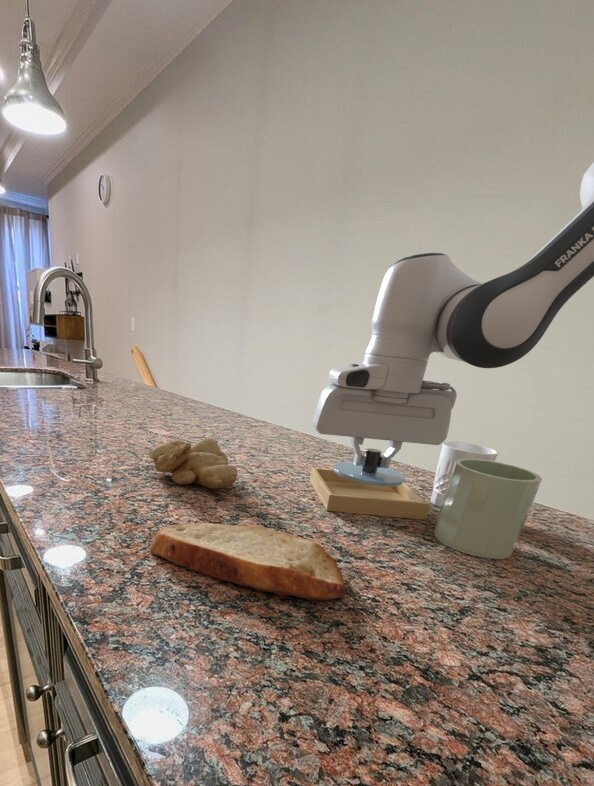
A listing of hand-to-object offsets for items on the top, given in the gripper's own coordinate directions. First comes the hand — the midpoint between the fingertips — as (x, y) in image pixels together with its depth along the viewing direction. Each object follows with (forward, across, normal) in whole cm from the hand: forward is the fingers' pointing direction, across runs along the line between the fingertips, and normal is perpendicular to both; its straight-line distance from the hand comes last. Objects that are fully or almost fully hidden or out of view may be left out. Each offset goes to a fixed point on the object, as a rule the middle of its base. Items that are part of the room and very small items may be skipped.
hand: (370, 466), depth 72 cm
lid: (+2, 0, 0) cm, 2 cm away
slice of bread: (+6, +21, +27) cm, 35 cm away
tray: (+6, 0, 0) cm, 6 cm away
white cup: (+6, -15, -1) cm, 17 cm away
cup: (+6, -11, +14) cm, 19 cm away
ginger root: (+6, +29, -2) cm, 30 cm away
